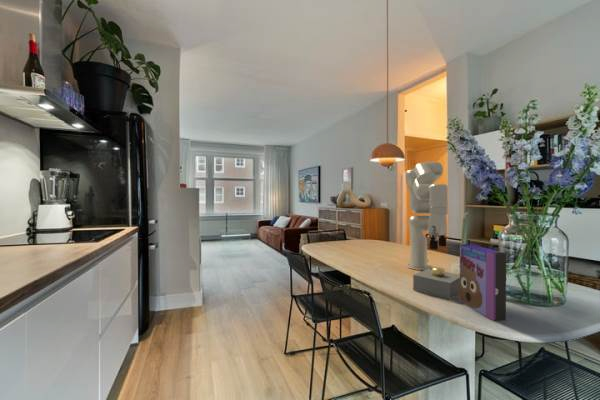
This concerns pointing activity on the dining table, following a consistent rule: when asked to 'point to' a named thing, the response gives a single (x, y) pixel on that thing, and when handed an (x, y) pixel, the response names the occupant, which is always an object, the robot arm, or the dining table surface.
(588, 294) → the dining table surface
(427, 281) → the block
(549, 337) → the dining table surface
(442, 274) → the brass pin
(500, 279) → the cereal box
